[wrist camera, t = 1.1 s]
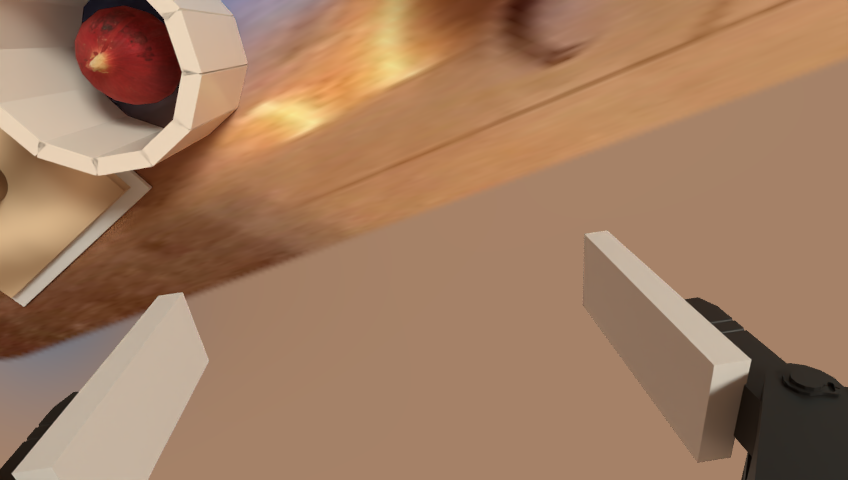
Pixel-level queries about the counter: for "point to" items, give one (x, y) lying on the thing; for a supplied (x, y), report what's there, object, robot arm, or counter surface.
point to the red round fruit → (128, 55)
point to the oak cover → (44, 210)
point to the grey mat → (87, 236)
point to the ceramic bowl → (93, 111)
